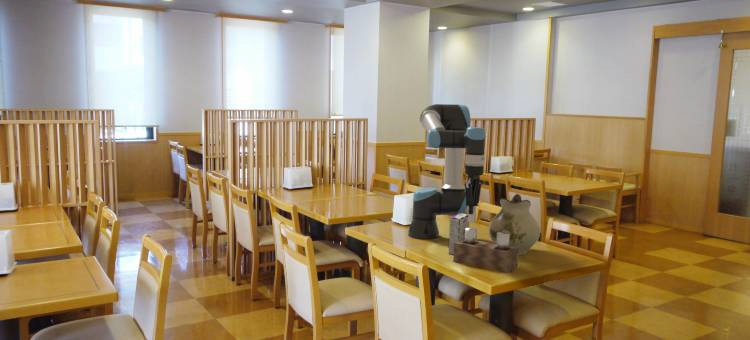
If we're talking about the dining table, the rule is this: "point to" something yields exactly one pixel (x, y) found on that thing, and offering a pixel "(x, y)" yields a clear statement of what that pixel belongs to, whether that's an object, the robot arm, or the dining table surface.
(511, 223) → the pitcher
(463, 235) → the candy bar box
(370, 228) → the dining table surface
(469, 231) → the peg
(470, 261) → the walnut bar
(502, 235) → the peg
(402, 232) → the dining table surface
